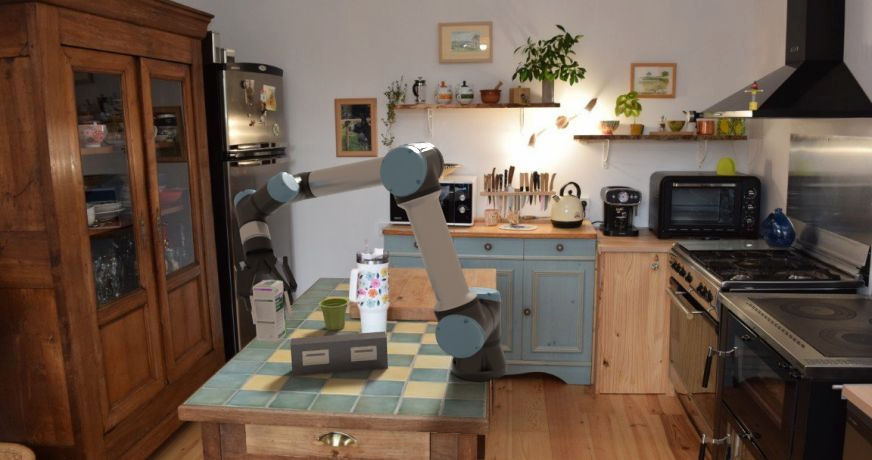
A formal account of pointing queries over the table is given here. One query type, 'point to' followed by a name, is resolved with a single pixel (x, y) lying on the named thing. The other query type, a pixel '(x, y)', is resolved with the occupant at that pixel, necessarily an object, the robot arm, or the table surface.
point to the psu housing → (339, 353)
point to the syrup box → (270, 310)
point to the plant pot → (334, 312)
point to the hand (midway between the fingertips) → (273, 318)
